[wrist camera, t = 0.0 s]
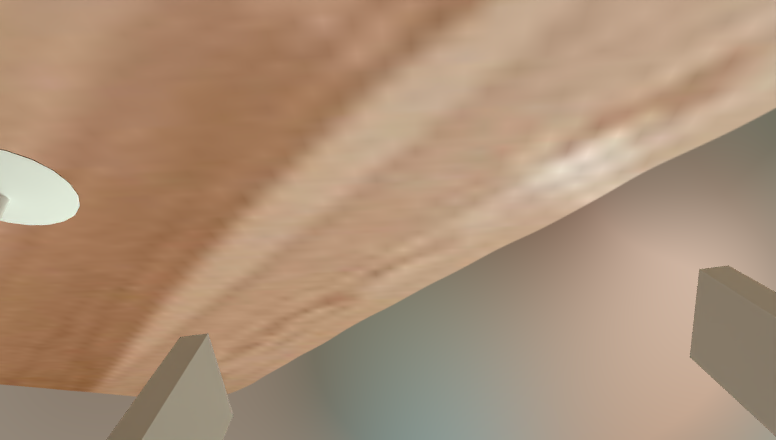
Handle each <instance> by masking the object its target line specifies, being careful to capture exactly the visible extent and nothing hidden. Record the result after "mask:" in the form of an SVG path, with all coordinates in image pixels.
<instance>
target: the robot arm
mask: <svg viewBox="0 0 776 440" xmlns="http://www.w3.org/2000/svg"><path fill="white" fill-rule="evenodd" d="M690 358H692V359H693V360H694V361H695V362H696V363H697V364H698V365H699V366H700V367H701V368H702V369H703V370H704V371H706V372H707V373H708V374H709V375H710V376H711V377H712V378H713V379H714V380H715V381H716V382H717V383H719V384H720V385H721V386H722V387H723V388H724V389H725V390H726V391H727V392H728V393H729V394H731V395H732V396H733V397H734V398H735V399H736V400H737V401H738V402H739V403H740V404H741V405H742V406H743V407H744V408H746V409H747V410H748V411H749V412H750V413H751V414H752V415H753V416H754V417H756V418H757V420H759V421H760V422H761V423H762V424H763V425H764V426H765V427H766V428H767V429H768V430H769V431H771V432H772V433H773V434H774V435H775V436H776V292H775V291H773V290H771V289H769V288H767V287H765V286H764V285H762V284H760V283H759V282H757V281H755V280H753V279H751V278H750V277H748V276H746V275H744V274H742V273H741V272H739V271H737V270H736V269H734V268H732V267H730V266H722V267H714V268H706V269H700V270H699V277H698V286H697V295H696V305H695V314H694V324H693V332H692V342H691V351H690ZM232 417H233V412H232V409H231V406H230V402H229V399H228V396H227V393H226V390H225V386H224V383H223V380H222V377H221V373H220V370H219V367H218V364H217V360H216V357H215V354H214V351H213V347H212V344H211V341H210V338H209V334H208V333H207V334H200V335H192V336H184V337H180V338H179V339H178V341H177V342H176V343H175V345H174V346H173V348H172V349H171V350H170V352H169V353H168V355H167V356H166V357H165V359H164V360H163V361H162V363H161V364H160V366H159V367H158V368H157V370H156V371H155V373H154V374H153V375H152V377H151V378H150V380H149V381H148V382H147V384H146V385H145V386H144V388H143V389H142V391H141V392H140V393H139V395H138V396H137V398H136V399H135V400H134V402H133V403H132V405H131V406H130V407H129V409H128V410H127V411H126V413H125V414H124V416H123V417H122V418H121V420H120V421H119V423H118V424H117V425H116V427H115V428H114V430H113V431H112V432H111V434H110V435H109V436H108V438H107V439H106V440H223V439H224V437H225V434H226V431H227V429H228V427H229V424H230V422H231V419H232Z"/></svg>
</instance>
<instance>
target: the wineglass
mask: <svg viewBox="0 0 776 440" xmlns="http://www.w3.org/2000/svg"><path fill="white" fill-rule="evenodd" d="M79 207H80V205H79V198H78V195H77V193H76V192H75V191H74V189H73V188H72V186H71V185H70V184H69V183H68V182H67V181H66V180H64V179H63V178H62V177H61V176H59V175H58V174H57V173H55V172H54V171H53V170H51V169H49V168H47V167H45V166H43V165H41V164H39V163H37V162H35V161H33V160H31V159H28V158H25V157H22V156H19V155H16V154H13V153H10V152H7V151H3V150H0V220H1V221H4V222H9V223H17V224H25V225H50V224H54V223H59V222H63V221H65V220H67V219H69V218H71V217H72V216H74V215H75V214H76V212H77V210H78V208H79Z"/></svg>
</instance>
